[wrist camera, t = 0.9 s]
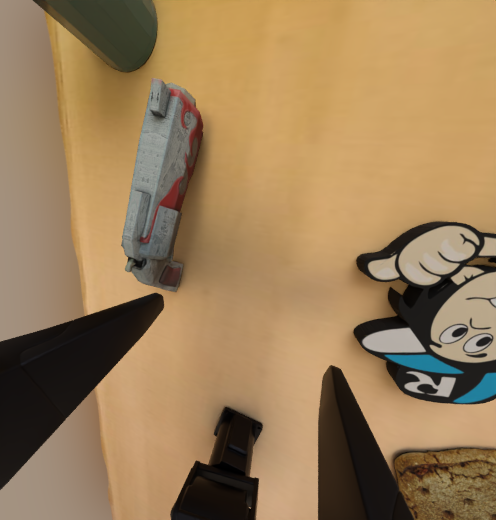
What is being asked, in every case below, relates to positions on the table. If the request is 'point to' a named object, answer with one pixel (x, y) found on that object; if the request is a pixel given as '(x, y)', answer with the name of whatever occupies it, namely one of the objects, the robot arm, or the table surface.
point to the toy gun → (161, 184)
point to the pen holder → (109, 28)
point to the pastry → (449, 484)
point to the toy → (437, 313)
